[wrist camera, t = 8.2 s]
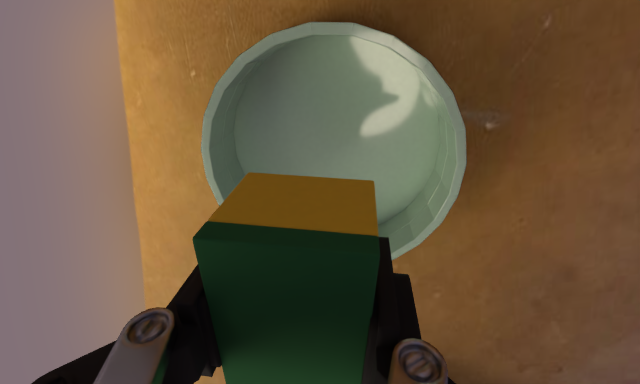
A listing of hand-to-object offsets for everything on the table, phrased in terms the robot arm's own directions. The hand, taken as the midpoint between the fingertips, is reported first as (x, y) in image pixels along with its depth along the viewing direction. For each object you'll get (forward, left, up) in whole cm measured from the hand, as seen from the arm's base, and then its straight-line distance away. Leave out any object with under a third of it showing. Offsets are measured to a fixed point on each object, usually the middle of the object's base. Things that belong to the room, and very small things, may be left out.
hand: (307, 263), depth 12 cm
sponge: (0, 0, -1) cm, 1 cm away
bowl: (0, 0, -14) cm, 14 cm away
